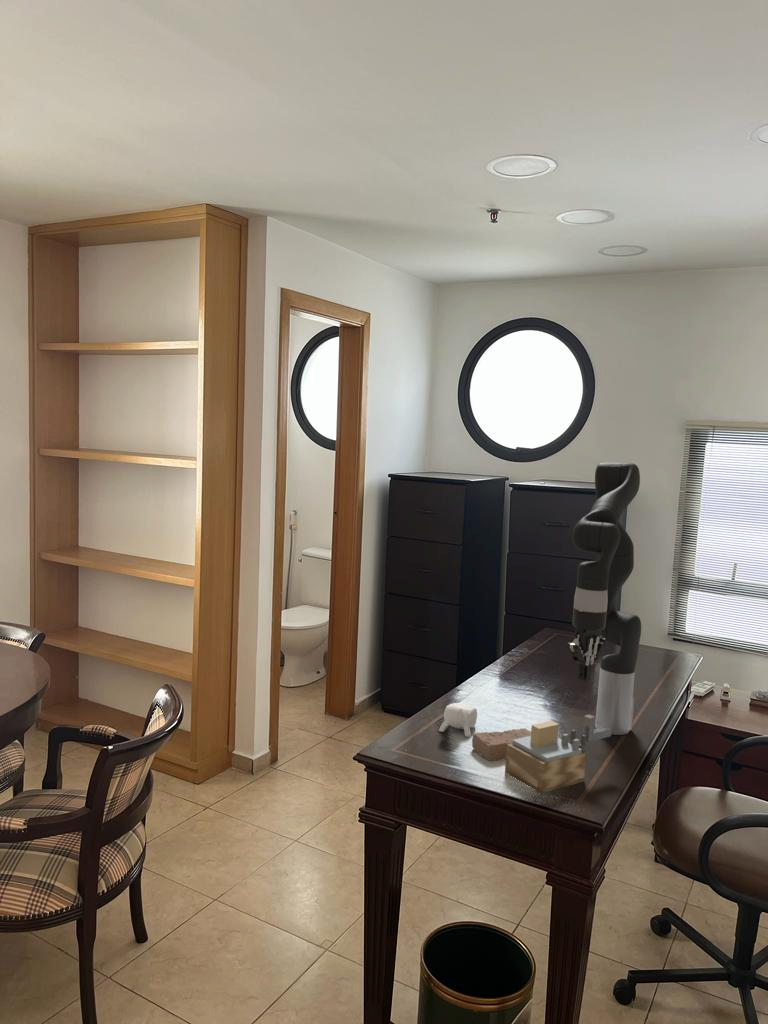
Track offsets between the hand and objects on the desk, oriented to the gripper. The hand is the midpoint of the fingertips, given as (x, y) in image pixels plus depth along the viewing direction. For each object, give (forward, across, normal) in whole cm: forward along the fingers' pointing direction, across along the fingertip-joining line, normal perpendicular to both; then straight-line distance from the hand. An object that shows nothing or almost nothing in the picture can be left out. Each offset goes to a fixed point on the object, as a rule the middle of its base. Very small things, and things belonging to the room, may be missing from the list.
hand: (584, 679), depth 184 cm
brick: (+24, +2, -20) cm, 31 cm away
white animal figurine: (+24, +3, -36) cm, 43 cm away
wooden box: (+24, +6, -4) cm, 25 cm away
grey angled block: (+15, -6, +1) cm, 16 cm away
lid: (+17, +6, -4) cm, 19 cm away
